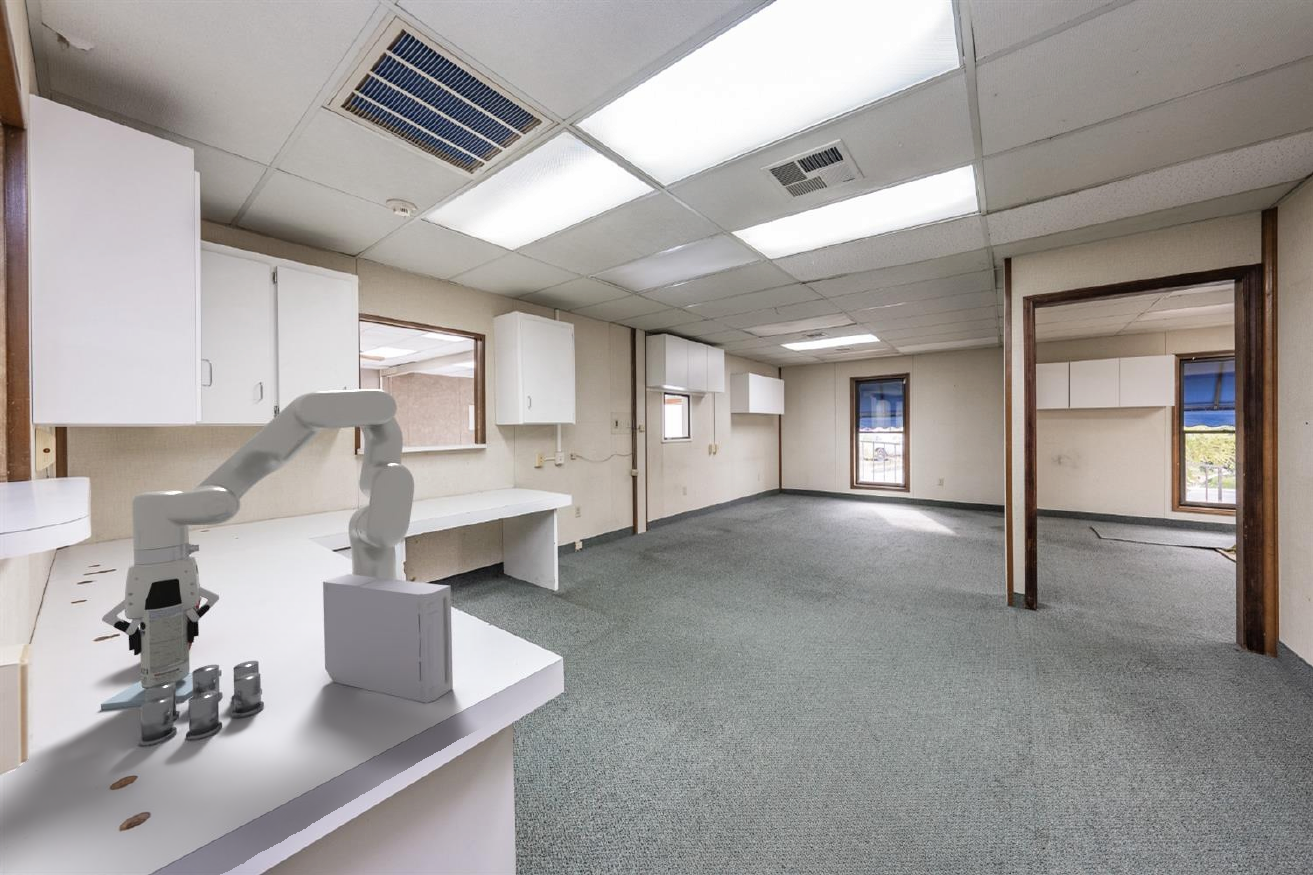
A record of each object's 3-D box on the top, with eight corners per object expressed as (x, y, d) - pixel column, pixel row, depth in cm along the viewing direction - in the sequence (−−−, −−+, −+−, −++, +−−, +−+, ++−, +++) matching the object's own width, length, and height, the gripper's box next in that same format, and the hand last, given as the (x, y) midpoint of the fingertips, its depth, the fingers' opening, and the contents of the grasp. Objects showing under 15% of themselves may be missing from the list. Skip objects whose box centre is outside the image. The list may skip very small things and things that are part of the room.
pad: (221, 674, 100) (221, 669, 100) (185, 700, 90) (185, 694, 90) (146, 682, 97) (146, 677, 97) (100, 709, 88) (100, 704, 88)
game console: (429, 705, 87) (427, 595, 87) (323, 681, 97) (321, 581, 96) (453, 689, 93) (451, 585, 92) (351, 667, 102) (349, 573, 102)
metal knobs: (286, 687, 94) (285, 656, 94) (233, 735, 79) (232, 699, 79) (181, 698, 91) (180, 667, 91) (105, 752, 76) (104, 713, 75)
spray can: (163, 672, 97) (160, 573, 97) (200, 670, 98) (196, 572, 97) (130, 690, 90) (126, 584, 90) (169, 688, 91) (166, 582, 91)
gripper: (222, 544, 102) (225, 628, 103) (98, 560, 91) (101, 654, 91) (222, 550, 97) (225, 639, 97) (90, 567, 85) (93, 668, 85)
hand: (165, 645), depth 94 cm, fingers closed on spray can, 6 cm apart
